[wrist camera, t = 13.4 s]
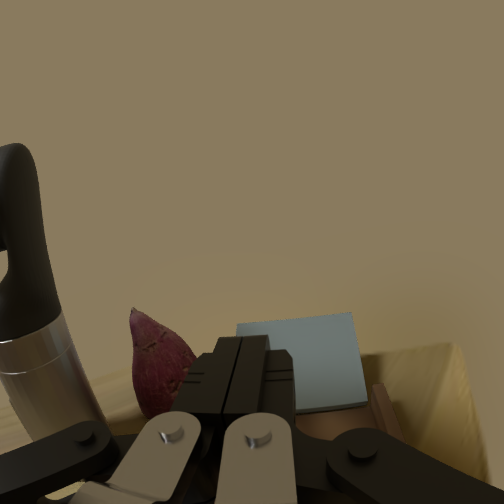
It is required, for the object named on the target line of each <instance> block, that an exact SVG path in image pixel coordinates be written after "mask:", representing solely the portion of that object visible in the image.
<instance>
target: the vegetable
mask: <svg viewBox="0 0 504 504" xmlns="http://www.w3.org/2000/svg"><path fill="white" fill-rule="evenodd" d="M130 329H131V334H132V339H133V364H132V379H133V386H134V390H135V394H136V397H137V401H138V403H139V406H140V409H141V411H142V413H143V414H144V415H145V416H146V417H147V418H149V419H150V420H151V419H152V418H154V417H156V416H158V415H160V414H163V413H167V412H169V411H170V409H171V406H172V404H173V402H174V400H175V398H176V396H177V394H178V392H179V390H180V388H181V386H182V383H184V379H185V377H186V375H188V371H189V369H190V367H191V365H192V363H193V361H195V360H196V359H197V358H196V356H195V355H194V354H193V352H192V350H191V349H190V347H189V346H188V345H187V344H186V342H185V341H184V340H183V339H182V338H181V337H180V336H178V335H177V334H176V333H175V332H173V331H172V330H170V329H169V328H167V327H165V326H163V325H161V324H159V323H157V322H156V321H155V320H153V319H152V318H150V317H149V316H147V315H146V314H144V313H143V312H140V311H137V310H136V309H135V308H134V307H132V309H131V314H130Z"/></svg>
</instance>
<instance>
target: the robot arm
mask: <svg viewBox="0 0 504 504" xmlns="http://www.w3.org/2000/svg"><path fill="white" fill-rule="evenodd" d="M5 250H7V252H8V271H7V274H6V275H5V277H4V279H3V280H2V281H1V283H0V380H1V382H2V384H3V386H4V388H5V390H6V392H7V394H8V396H9V401H10V403H11V405H12V407H13V409H14V411H15V412H16V414H17V416H18V418H19V419H20V421H21V423H22V424H23V426H24V428H25V429H26V431H27V432H28V434H29V436H30V437H31V439H32V440H33V442H32V443H30V444H27V445H25V446H22V447H20V448H17V449H15V450H12V451H10V452H7V453H4V454H2V455H0V504H504V491H503V490H501V489H498V488H496V487H494V486H491V485H489V484H487V483H485V482H482V481H480V480H478V479H476V478H473V477H471V476H469V475H467V474H465V473H463V472H461V471H458V470H456V469H454V468H452V467H450V466H448V465H446V464H444V463H442V462H440V461H438V460H436V459H434V458H432V457H430V456H428V455H426V454H424V453H422V452H420V451H419V450H417V449H415V448H413V447H411V446H409V445H407V444H405V443H404V442H402V441H400V440H398V439H396V438H395V437H393V436H391V435H389V434H387V433H386V432H383V431H381V430H378V429H375V428H365V427H364V428H355V429H351V430H348V431H345V432H343V433H341V434H340V435H338V436H337V437H336V438H334V439H333V440H332V441H331V440H324V439H318V438H314V437H311V436H308V435H306V434H304V433H303V432H302V431H300V430H299V429H298V428H297V426H296V393H295V380H294V367H293V358H292V356H291V355H290V354H289V353H288V351H287V350H286V349H279V350H271V349H270V341H269V336H268V334H267V335H251V336H244V337H243V336H234V337H219V339H218V341H217V344H216V346H215V348H214V351H213V353H203V354H202V355H201V356H199V357H198V358H197V359H196V360H195V361H193V363H192V365H191V367H190V369H189V371H188V375H186V377H185V379H184V383H182V386H181V388H180V390H179V392H178V394H177V396H176V398H175V400H174V402H173V404H172V406H171V409H170V411H169V412H167V413H163V414H160V415H158V416H156V417H154V418H152V419H151V420H150V421H148V422H147V423H146V425H145V426H144V428H143V429H142V431H141V432H140V433H139V434H132V435H121V436H114V434H113V432H112V430H111V428H110V426H109V424H108V422H107V420H106V418H105V416H104V414H103V412H102V410H101V408H100V406H99V404H98V401H97V399H96V397H95V395H94V393H93V391H92V388H91V386H90V384H89V381H88V379H87V377H86V374H85V372H84V370H83V367H82V364H81V362H80V359H79V357H78V354H77V352H76V349H75V346H74V344H73V341H72V339H71V335H70V333H69V330H68V327H67V324H66V321H65V318H64V315H63V312H62V309H61V305H60V302H59V299H58V295H57V291H56V287H55V282H54V278H53V273H52V269H51V265H50V260H49V256H48V251H47V245H46V240H45V234H44V226H43V218H42V210H41V200H40V191H39V182H38V176H37V171H36V167H35V163H34V160H33V157H32V155H31V153H30V151H29V150H28V149H27V148H26V146H24V145H23V144H20V143H13V144H8V145H5V146H1V147H0V252H1V251H5ZM78 481H84V482H85V484H83V485H82V486H81V487H80V488H79V489H78V491H77V492H76V493H73V494H71V495H69V496H67V497H64V498H62V499H59V500H51V499H48V498H46V497H45V495H47V494H50V493H52V492H55V491H57V490H59V489H62V488H64V487H66V486H69V485H71V484H73V483H75V482H78Z"/></svg>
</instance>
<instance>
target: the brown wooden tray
mask: <svg viewBox="0 0 504 504" xmlns="http://www.w3.org/2000/svg"><path fill="white" fill-rule="evenodd" d="M296 426H297V428H298V429H299V430H300V431H302V432H303V433H304V434H306V435H308V436H311V437H314V438H318V439H324V440H331V441H332V440H333V439H334V438H336V437H337V436H338V435H340V434H341V433H343V432H345V431H348V430H351V429H355V428H364V427H365V428H375V429H378V430H381V431H383V432H386V433H387V434H389V435H391V436H393V437H395V438H396V439H398V440H400V441H402V442H404V443H405V444H406V442H405V439H404V437H403V434H402V431H401V428H400V425H399V423H398V420H397V417H396V415H395V412H394V409H393V407H392V404H391V401H390V399H389V396H388V394H387V391H386V388H385V386H384V383H380V384H374V385H372V393H371V405H370V406H368V407H362V408H356V409H349V410H341V411H333V412H325V413H315V414H304V415H296Z"/></svg>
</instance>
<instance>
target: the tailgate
mask: <svg viewBox="0 0 504 504" xmlns="http://www.w3.org/2000/svg"><path fill="white" fill-rule="evenodd" d="M267 334H268V336H269V341H270V349H271V350H279V349H286V350H287V351H288V353H289V354H290V355H291V356H292V358H293V367H294V380H295V393H296V413H308V412H318V411H327V410H336V409H344V408H351V407H358V406H364V405H367V402H368V398H367V392H366V386H365V380H364V374H363V369H362V363H361V358H360V353H359V348H358V342H357V337H356V333H355V328H354V323H353V319H352V314H351V312H349V313H341V314H332V315H324V316H316V317H306V318H298V319H297V318H296V319H286V320H276V321H265V322H252V323H239V324H237V329H236V336H243V337H244V336H251V335H267Z"/></svg>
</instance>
